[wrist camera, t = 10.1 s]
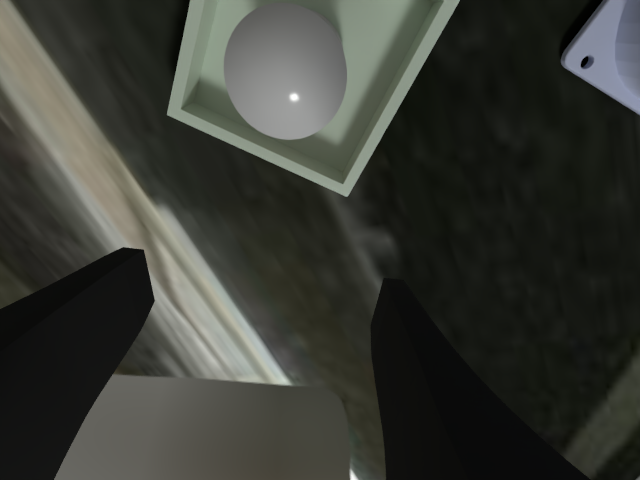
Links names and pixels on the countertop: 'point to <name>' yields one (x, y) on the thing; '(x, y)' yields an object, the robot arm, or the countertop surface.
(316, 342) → the countertop surface
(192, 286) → the countertop surface
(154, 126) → the countertop surface
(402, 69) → the tray
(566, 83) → the countertop surface
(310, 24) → the marked fuse
